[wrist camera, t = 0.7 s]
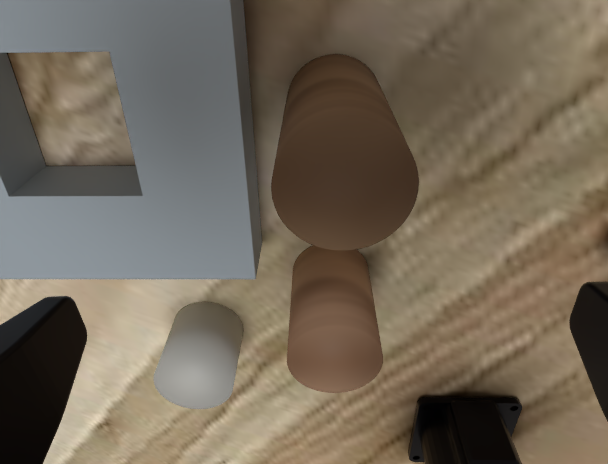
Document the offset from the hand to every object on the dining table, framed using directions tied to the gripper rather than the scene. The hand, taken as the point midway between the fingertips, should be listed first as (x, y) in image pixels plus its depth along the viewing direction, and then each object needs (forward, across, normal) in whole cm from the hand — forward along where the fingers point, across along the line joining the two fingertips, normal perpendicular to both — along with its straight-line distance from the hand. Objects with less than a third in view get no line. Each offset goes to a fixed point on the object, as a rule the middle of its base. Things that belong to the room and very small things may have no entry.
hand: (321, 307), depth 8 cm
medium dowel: (+13, 0, +9) cm, 16 cm away
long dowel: (+13, -1, 0) cm, 13 cm away
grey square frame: (+13, +10, 0) cm, 16 cm away
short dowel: (+13, +7, +13) cm, 19 cm away
